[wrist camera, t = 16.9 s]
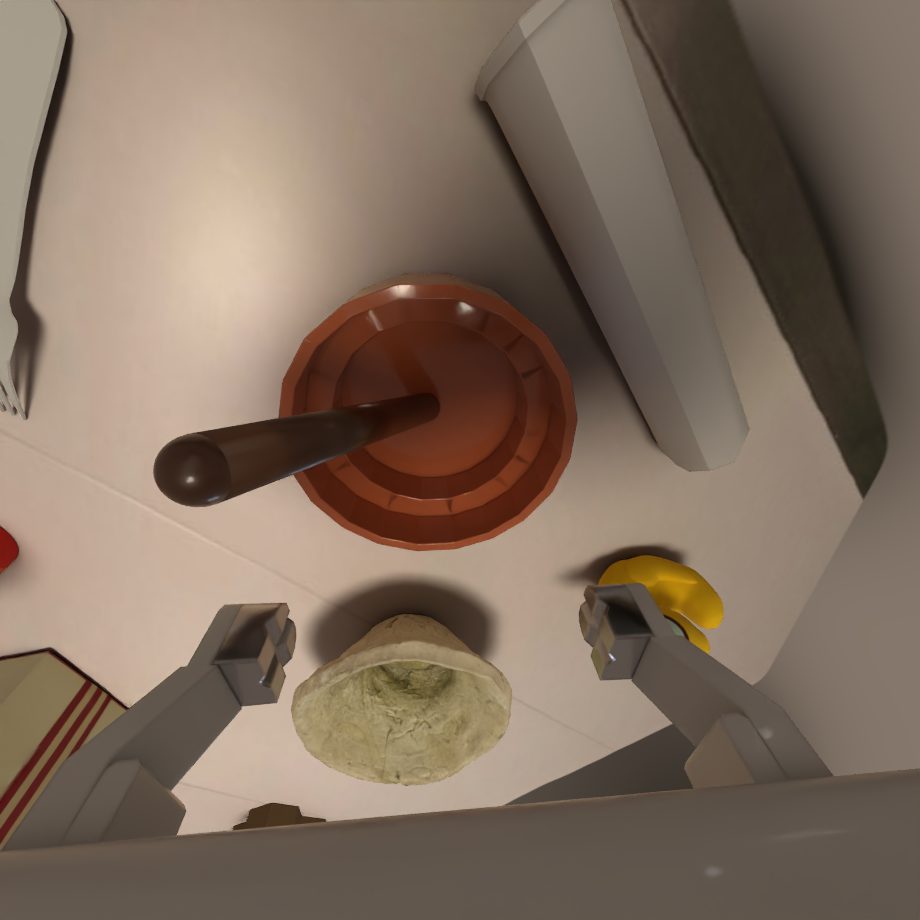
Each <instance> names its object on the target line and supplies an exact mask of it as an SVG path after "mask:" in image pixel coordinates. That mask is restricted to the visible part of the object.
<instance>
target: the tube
mask: <svg viewBox="0 0 920 920" xmlns="http://www.w3.org/2000/svg"><path fill="white" fill-rule="evenodd" d="M475 91H476V93H477V95H478V96H479V98H480V100H481V101H487V102H488V104H489V106H490V107H491V109H492V111H493V113H494V115H495V117H496V119H497V121H498V123H499V125H500V127H501V129H502V131H503V133H504V135H505V137H506V139H507V141H508V143H509V145H510V147H511V149H512V151H513V153H514V155H515V157H516V159H517V161H518V163H519V165H520V167H521V169H522V171H523V173H524V175H525V177H526V179H527V181H528V183H529V185H530V187H531V189H532V191H533V193H534V195H535V197H536V199H537V201H538V203H539V205H540V207H541V209H542V211H543V213H544V215H545V217H546V219H547V221H548V223H549V226H550V228H551V230H552V232H553V234H554V236H555V238H556V240H557V242H558V244H559V246H560V248H561V250H562V252H563V254H564V256H565V258H566V260H567V262H568V264H569V266H570V268H571V270H572V272H573V274H574V276H575V278H576V280H577V282H578V284H579V286H580V288H581V290H582V292H583V294H584V296H585V298H586V300H587V302H588V304H589V306H590V308H591V310H592V312H593V314H594V316H595V318H596V320H597V322H598V324H599V326H600V328H601V330H602V332H603V334H604V336H605V338H606V340H607V342H608V344H609V346H610V348H611V350H612V352H613V354H614V356H615V358H616V360H617V362H618V364H619V366H620V368H621V371H622V373H623V375H624V377H625V379H626V381H627V383H628V385H629V387H630V389H631V391H632V393H633V395H634V397H635V399H636V401H637V403H638V405H639V407H640V409H641V411H642V413H643V415H644V417H645V419H646V421H647V423H648V425H649V427H650V429H651V431H652V433H653V435H654V437H655V439H656V441H657V443H658V445H659V447H660V449H661V451H662V452H663V453H664V454H665V455H667V456H668V457H669V458H670V459H671V460H672V461H673V462H674V463H675V464H676V465H678V466H680V467H682V468H684V469H685V470H687V471H689V472H691V471H710V470H714V469H717V468H719V467H722V466H725V465H728V464H731V463H734V462H735V460H736V457H737V455H738V453H739V451H740V449H741V447H742V444H743V442H744V440H745V438H746V436H747V434H748V431H749V426H748V423H747V420H746V417H745V413H744V410H743V407H742V404H741V401H740V398H739V395H738V392H737V389H736V386H735V383H734V379H733V376H732V373H731V370H730V367H729V364H728V361H727V358H726V355H725V352H724V349H723V345H722V342H721V339H720V336H719V333H718V330H717V327H716V324H715V321H714V318H713V315H712V311H711V308H710V305H709V302H708V299H707V296H706V293H705V290H704V287H703V284H702V280H701V277H700V274H699V271H698V268H697V265H696V262H695V259H694V256H693V253H692V250H691V246H690V243H689V240H688V237H687V234H686V231H685V228H684V225H683V222H682V219H681V216H680V212H679V209H678V206H677V203H676V200H675V197H674V194H673V191H672V188H671V185H670V182H669V178H668V175H667V172H666V169H665V166H664V163H663V160H662V157H661V154H660V151H659V148H658V144H657V141H656V138H655V135H654V132H653V129H652V126H651V123H650V120H649V117H648V114H647V110H646V107H645V104H644V101H643V98H642V95H641V92H640V89H639V86H638V83H637V80H636V76H635V73H634V70H633V67H632V64H631V61H630V58H629V55H628V52H627V49H626V46H625V42H624V39H623V36H622V33H621V30H620V27H619V24H618V21H617V18H616V15H615V12H614V8H613V5H612V2H611V0H538V1H537V2H536V3H535V4H534V5H533V6H532V7H531V8H530V9H528V10H527V11H526V12H525V13H524V14H523V15H522V16H521V17H520V18H519V19H518V20H517V22H516V23H515V24H514V26H513V27H512V28H511V30H510V31H509V32H508V33H507V35H506V36H505V37H504V39H503V40H502V41H501V43H500V44H499V45H498V47H497V48H496V49H495V51H494V52H493V53H492V54H491V56H490V57H489V58H488V60H487V61H486V62H485V64H484V65H483V66H482V68H481V70H480V73H479V76H478V79H477V82H476V85H475Z"/></svg>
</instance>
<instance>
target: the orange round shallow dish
mask: <svg viewBox="0 0 920 920" xmlns="http://www.w3.org/2000/svg"><path fill="white" fill-rule="evenodd" d="M420 393H431V394H433V395H434V396H436V397H437V399H438V400H439V402H440V413H439V415H438V416H437V417H436V418H435V419H434V420H432V421H430V422H427V423H424V424H422V425H419V426H417V427H414V428H412V429H409V430H406V431H404V432H401V433H399V434H396V435H393V436H391V437H388V438H386V439H383V440H381V441H378V442H375V443H373V444H370V445H368V446H365V447H362V448H360V449H357V450H355V451H352V452H350V453H347V454H344V455H342V456H339V457H337V458H334V459H331V460H329V461H326V462H324V463H321V464H318V465H316V466H313V467H311V468H308V469H306V470H303V471H300V472H298V473H295V474H293V475H294V476H295V478H296V479H297V481H298V482H299V484H300V485H301V487H302V488H303V490H304V491H305V493H306V494H307V496H308V497H309V499H310V500H311V502H313V504H315V505H316V506H317V507H318V508H320V509H321V510H322V511H323V512H324V513H326V514H327V515H328V516H329V517H331V518H332V519H333V520H334V521H335V522H337V523H338V524H339V525H340V526H341V527H343V528H345V529H347V530H349V531H351V532H353V533H356V534H358V535H360V536H362V537H365V538H367V539H369V540H371V541H373V542H376V543H378V544H381V545H387V546H392V547H398V548H403V549H408V550H414V551H429V550H450V549H458V548H461V547H465V546H468V545H472V544H475V543H479V542H482V541H485V540H489V539H491V538H494V537H496V536H498V535H499V534H501V533H503V532H505V531H506V530H508V529H510V528H511V527H513V526H515V525H517V524H518V523H520V522H522V521H524V520H525V519H526V518H527V517H528V516H529V515H530V514H531V513H532V512H533V511H534V510H535V509H536V508H537V507H538V506H539V505H540V504H541V503H542V502H543V501H544V500H545V499H546V498H547V497H548V496H549V495H550V494H551V492H552V491H553V490H554V488H555V486H556V484H557V482H558V480H559V479H560V477H561V475H562V473H563V471H564V469H565V467H566V466H567V464H568V462H569V460H570V457H571V452H572V446H573V441H574V435H575V430H576V424H577V418H578V417H577V411H576V405H575V399H574V393H573V387H572V381H571V376H570V374H569V372H568V370H567V369H566V367H565V365H564V364H563V362H562V360H561V358H560V357H559V355H558V353H557V351H556V350H555V348H554V346H553V344H552V343H551V341H550V339H549V337H548V336H547V335H546V334H545V333H544V332H543V331H542V330H541V329H539V328H538V327H537V326H536V325H534V324H533V323H532V322H531V321H530V320H528V319H527V318H526V317H525V316H524V315H522V314H521V313H520V312H519V311H518V310H516V309H515V308H514V307H513V306H512V305H510V304H509V303H508V302H507V301H505V300H504V299H503V298H502V297H500V296H499V295H498V294H496V293H495V292H494V291H493V290H491V289H490V288H487V287H485V286H482V285H479V284H476V283H474V282H471V281H468V280H465V279H462V278H460V277H457V276H454V275H451V274H402V275H399V276H397V277H394V278H391V279H389V280H386V281H383V282H380V283H378V284H375V285H372V286H370V287H367V288H364V289H362V290H361V291H360V292H359V293H357V294H356V295H355V296H353V297H352V298H351V299H349V300H348V301H347V302H346V303H344V304H343V305H342V306H341V307H340V308H338V309H337V310H336V311H335V312H334V313H333V314H332V315H330V316H329V317H328V318H327V319H326V320H325V321H323V322H322V323H321V324H320V325H319V326H318V327H317V328H315V329H314V330H313V331H312V332H311V333H310V334H308V335H307V336H306V338H305V339H304V340H303V342H302V344H301V346H300V348H299V350H298V352H297V354H296V355H295V357H294V359H293V361H292V363H291V365H290V367H289V369H288V371H287V373H286V375H285V377H284V379H283V382H282V389H281V399H280V409H279V418H283V417H288V416H294V415H300V414H305V413H311V412H317V411H323V410H328V409H334V408H340V407H345V406H351V405H357V404H363V403H368V402H374V401H380V400H385V399H391V398H397V397H403V396H408V395H414V394H420Z"/></svg>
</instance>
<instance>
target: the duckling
mask: <svg viewBox="0 0 920 920" xmlns="http://www.w3.org/2000/svg"><path fill="white" fill-rule="evenodd" d="M628 583H642V584H643V585H644V586H645V587H646V588H647V590H648V591H649V593H650V595H651V596H652V598H653V599H654V601H655V603H656V604H657V606H658V607H659V609H660V611H661V612H662V614H663V615H664V617H665V619H666V620H667V622H668V623H669V625H670V627H671V628H672V630H673V631H674V633H675V635H676V636H683V637H684V638H686V639H687V640H689V641H690V642H691V643H693V644H694V645H696V646H697V647H698V648H700V649H701V650H703V651H704V652H705V653H707V654H708V653H709V650H710V645H709V642H708V640H707V638H706V637H705V635H704V634H703V633H702V632H701V631H700V630H699V629H697V628H696V627H695V626H694V625H693V624H692V623H691V622H690V621H689V620H688V619H686V618H685V617H684V616H682V615H681V614H679V613H683V614H684V615H685V616H686V617H688V618H689V619H690V620H691V621H693V622H694V623H695V624H697V625H698V626H700V627H702V628H705V629H714V628H716V627H718V626H719V625H720V623H721V622H722V620H723V604H722V601H721V598H720V597H719V595H718V594H717V593H716V592H715V590H714V589H713V588H712V587H711V586H710V584H709V583H708V582H707V581H706V580H705V579H704V578H703V577H702V576H701V575H700V574H699V573H697V572H696V571H695V570H693V569H692V568H690V567H687V566H685V565H682V564H680V563H676V562H673V561H670V560H668V559H664V558H660V557H656V556H650V555H643V556H638V557H634V558H631V559H627V560H620V561H617V562H615V563H614V564H612V565H611V566H610V567H608V569H607V570H606V571H605V573H604V574H603V575H602V577H601V578H600V580H599V583H598V585H606V584H628Z"/></svg>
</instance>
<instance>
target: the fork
mask: <svg viewBox="0 0 920 920" xmlns="http://www.w3.org/2000/svg"><path fill="white" fill-rule="evenodd" d="M66 36H67V28H66V24H65V19H64V16H63V14H62V13H61V11H60V10H59V8H58V6H57V5H56V3H55V2H54V0H0V380H1V382H2V384H3V386H4V388H5V390H6V392H7V394H8V396H9V398H10V400H11V401H12V403H13V404H14V406H15V408H16V409H17V411H18V412H19V414H20V415H21V417H22V418H23V419H24V420H27V419H26V416H25V414H24V411H23V409H22V407H21V404H20V402H19V400H18V397H17V394H16V391H15V388H14V385H13V382H12V378H11V371H10V365H9V362H10V359H11V355H12V351H13V348H14V344H15V341H16V338H17V334H18V323H17V321H16V319H15V317H14V316H13V314H12V311H11V307H10V302H9V299H10V295H11V292H12V289H13V286H14V283H15V278H16V273H17V268H18V262H19V255H20V248H21V242H22V234H23V226H24V218H25V211H26V205H27V199H28V194H29V188H30V183H31V178H32V172H33V167H34V162H35V158H36V154H37V151H38V147H39V143H40V139H41V135H42V132H43V128H44V124H45V120H46V116H47V112H48V109H49V105H50V101H51V97H52V94H53V90H54V86H55V82H56V79H57V75H58V71H59V67H60V62H61V58H62V54H63V49H64V45H65V40H66ZM0 399H1V400H2V402H3V403H4V405H5V406H6V408H7V409H8V410H9V412H10V413H11V415H14V416H15V413H14V411H13V409H12V407H11V405H10V403H9V402H8V400H7V398H6V396H5V394H4V392H3V389H2V387H1V385H0ZM0 410H1V411H2V412H5V409H4V408H3V406H2V404H1V403H0Z"/></svg>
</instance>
